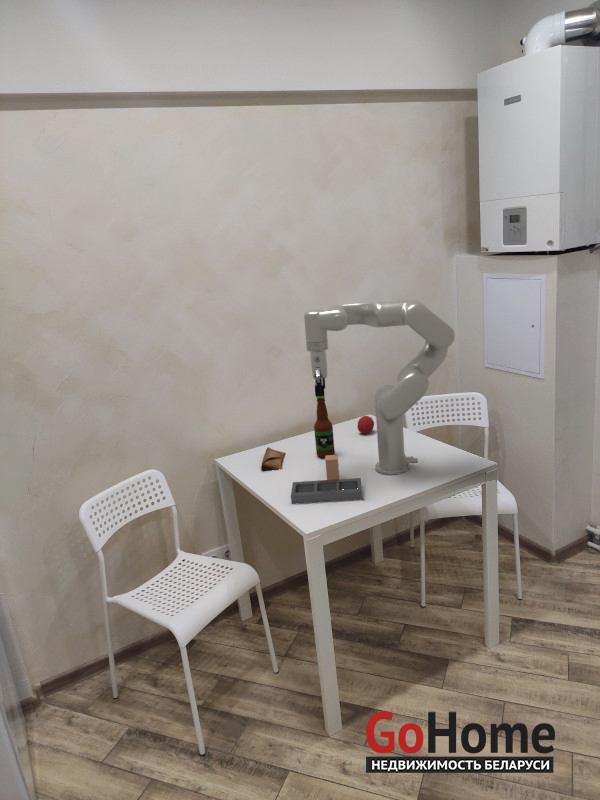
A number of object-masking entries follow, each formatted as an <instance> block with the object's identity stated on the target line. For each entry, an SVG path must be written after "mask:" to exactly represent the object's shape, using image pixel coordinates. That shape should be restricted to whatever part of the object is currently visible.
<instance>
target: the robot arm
mask: <svg viewBox="0 0 600 800" xmlns="http://www.w3.org/2000/svg"><path fill="white" fill-rule="evenodd" d="M327 309H328V310H326V311H325V310H324V309H310V310H306V311H305V312H304V316H303V317H304V318H303V319H304V320H303V321H304V329H305V330H304V331H305V332H304V333H305V345H306V351H307V352H309V355H310V363H311V364H310V366H311V373H312V379H314V396H315V398H316V397H319V396H325V389H326V379H327V377H328V363H327V353H326V351H328V350H329V343H328V331H330V332H339V331H340V332H341V331H343V330H345V329H346V328H347V327H348V326H349V325H350V326H351V325H352V326H353V325H366V326H369V327H373V328H389V327H398V326H399V327H400V326H401V327H402V326H408V327H409V328H411V329H412V330H413V331H414V332H415V333H417V335H419V336H420V337H422V339H424V340H425V342H424V346H423V347H422V349H421V350H420V351H419V352H418V354H416V356H414V357H413V358H412V359H411V360H410V361H409V362H407V364H406V365H405V366H403V367H402V369H401V370H399V372H398V374H397V377H396V381H397V383H396V384H395V386H393V384H391V385H390V384H384V385H381V386H380V387H379V388H378V389H377V390H376V391H375V394H374V399H373V401H374V403H373V404H374V409H375V419H376V420H375V421H376V433H377V434H376V437H377V451H378V453H377V454H378V462H376V463H375V465H374V468H375V471H376V472H378V473H380V474H383V475H398V474H403V473H406V472H407V471H408V470H410V464H418V462H419V460H418V457H414V456H407V455H406V454H405V437H404V435H405V434H404V420H403V419H404V418H403V416H404V415H405V414H406V413H407V412H408V411H410V409H411V408H413V407H414V406H415V404H417V403H418V402H419V401H420V400H421V399H422V398H423V397H424V395H426V393H427V392H428V389H429V386H430V383H429V378H430V376H432V375H433V374H434V373H435V372H436V371H437V369H439V368H440V367H441V366H442V364H443V363H444V362H445V360H446V357H447V353H448V350H449V347H451V346H452V344H453V343H454V341H455V336H456V335H455V331H454V329H453V328H452V326H450V325H449V324H448V323H446V322H445V321H444V320H443V319H441V318H440V317H439V316H437V314H435V313H434V312H433V311H432V310H431V309H429V308H428V307H427V306H426V305H425V304H424V303H422V302H421V301H419V300H415V299H408V300H407V299H406V300H397V301H394V300H393V301H384V302H367V303H364V302H363V303H361V302H359V303H347V304H336V305H333V306H331V307H329V308H327Z"/></svg>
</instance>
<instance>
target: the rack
mask: <svg viewBox="0 0 600 800" xmlns="http://www.w3.org/2000/svg"><path fill="white" fill-rule="evenodd" d="M357 488H358V489H357ZM342 489H344V490H342ZM360 499H362V500H363V499H364V498H363V486H362V477H353V478H351V477H350V478H349V477H348V478H339V479H334V480H327V479H323V480H321V479H320V480H305V481H293V482H292V485H291V492H290V500H291V501H290V502H291V504H292V505H293V504H294V505H296V503H298V504H309V503H311V502H312V503H313V504H314V503H328V502H342V501H343V502H346V501H358V500H360ZM312 503H311V504H312Z"/></svg>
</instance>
